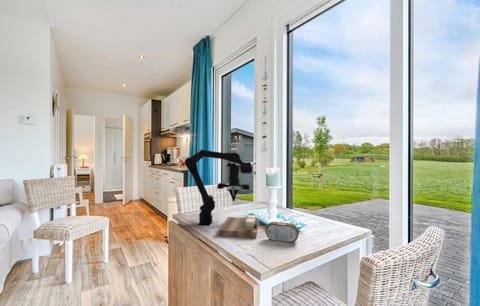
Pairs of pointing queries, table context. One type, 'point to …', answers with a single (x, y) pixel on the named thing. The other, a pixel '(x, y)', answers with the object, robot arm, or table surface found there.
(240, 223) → the stool seat
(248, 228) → the stool leg
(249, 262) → the table surface
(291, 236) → the retro speaker
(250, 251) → the table surface
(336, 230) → the table surface
